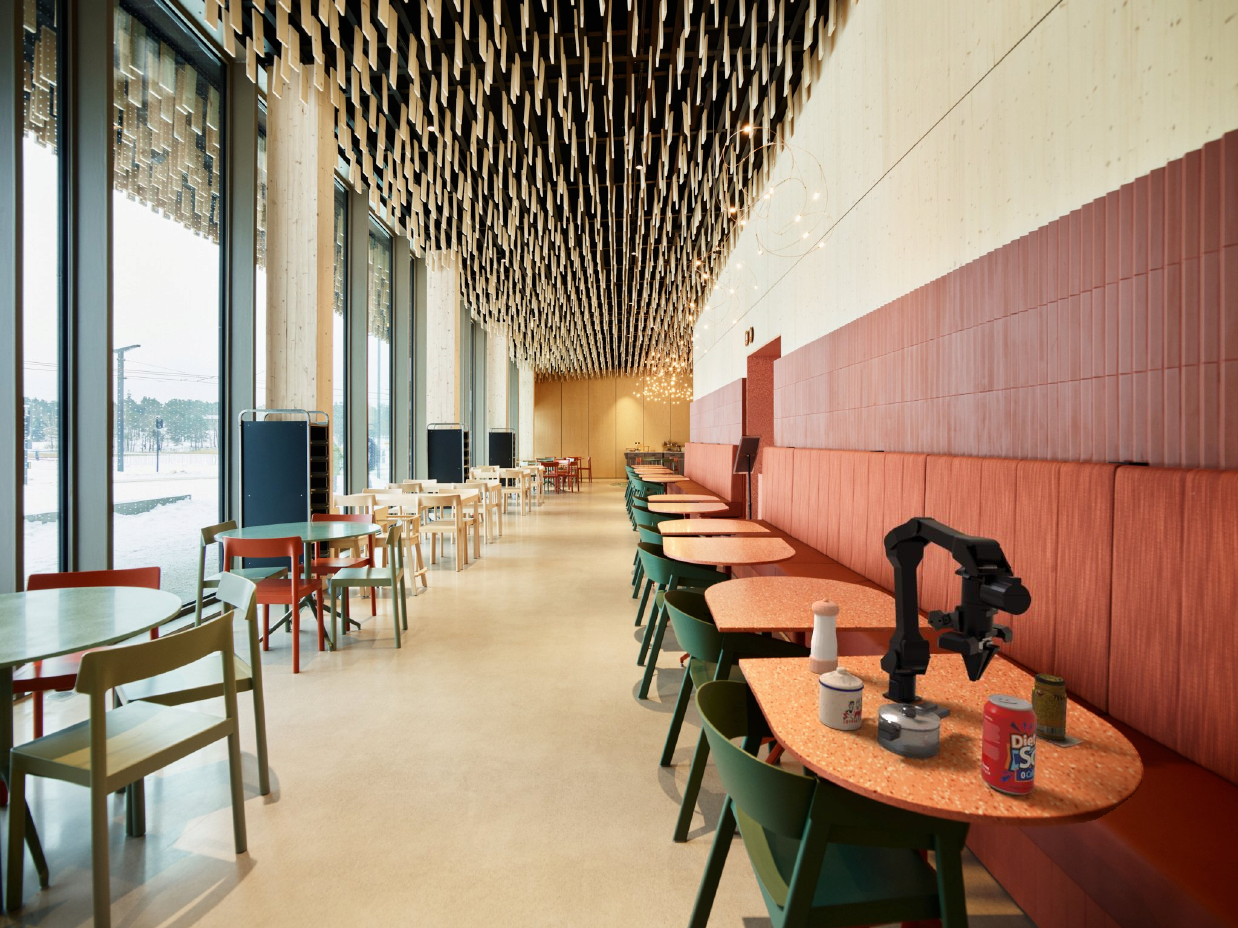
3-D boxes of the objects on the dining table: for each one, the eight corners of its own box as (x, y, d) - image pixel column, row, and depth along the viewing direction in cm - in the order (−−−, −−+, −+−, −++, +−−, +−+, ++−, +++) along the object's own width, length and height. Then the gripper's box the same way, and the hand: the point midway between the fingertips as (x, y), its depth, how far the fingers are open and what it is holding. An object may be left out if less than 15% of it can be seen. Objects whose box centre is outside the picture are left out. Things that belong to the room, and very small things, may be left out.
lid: (906, 699, 133) (906, 689, 132) (960, 718, 123) (960, 707, 123) (863, 716, 124) (864, 705, 124) (918, 738, 115) (918, 726, 114)
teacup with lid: (849, 735, 126) (851, 678, 126) (809, 720, 133) (811, 666, 133) (876, 719, 135) (878, 666, 134) (837, 706, 141) (838, 655, 141)
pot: (917, 719, 135) (918, 692, 135) (970, 739, 126) (971, 710, 126) (857, 744, 123) (858, 715, 122) (911, 768, 114) (912, 736, 113)
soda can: (977, 770, 113) (980, 689, 113) (1028, 780, 110) (1031, 696, 110) (984, 792, 106) (987, 704, 106) (1038, 803, 103) (1042, 713, 103)
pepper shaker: (811, 663, 170) (813, 594, 170) (839, 668, 167) (841, 597, 166) (806, 671, 163) (809, 599, 163) (835, 677, 160) (838, 602, 160)
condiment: (1040, 725, 134) (1043, 669, 134) (1084, 742, 127) (1086, 683, 126) (1019, 730, 131) (1022, 674, 131) (1063, 748, 124) (1065, 688, 123)
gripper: (959, 589, 135) (956, 660, 135) (912, 598, 124) (909, 676, 125) (1015, 599, 126) (1012, 676, 126) (970, 611, 115) (967, 694, 115)
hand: (974, 680), depth 123 cm, fingers closed
